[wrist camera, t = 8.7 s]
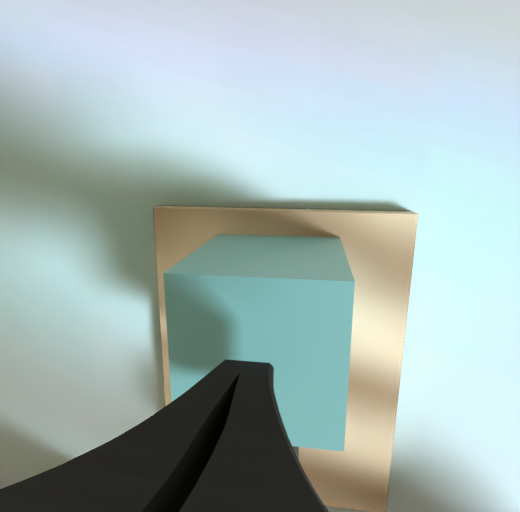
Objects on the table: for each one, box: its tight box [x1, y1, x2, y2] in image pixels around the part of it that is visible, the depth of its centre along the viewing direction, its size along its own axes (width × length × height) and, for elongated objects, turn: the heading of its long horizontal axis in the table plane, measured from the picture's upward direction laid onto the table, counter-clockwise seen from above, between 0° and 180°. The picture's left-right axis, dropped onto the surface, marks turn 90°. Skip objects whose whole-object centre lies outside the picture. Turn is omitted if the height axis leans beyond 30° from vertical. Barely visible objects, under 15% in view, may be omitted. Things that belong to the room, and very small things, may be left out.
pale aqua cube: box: [163, 234, 355, 452], centre depth 15 cm, size 6×6×7 cm
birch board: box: [153, 206, 418, 512], centre depth 17 cm, size 16×12×6 cm
